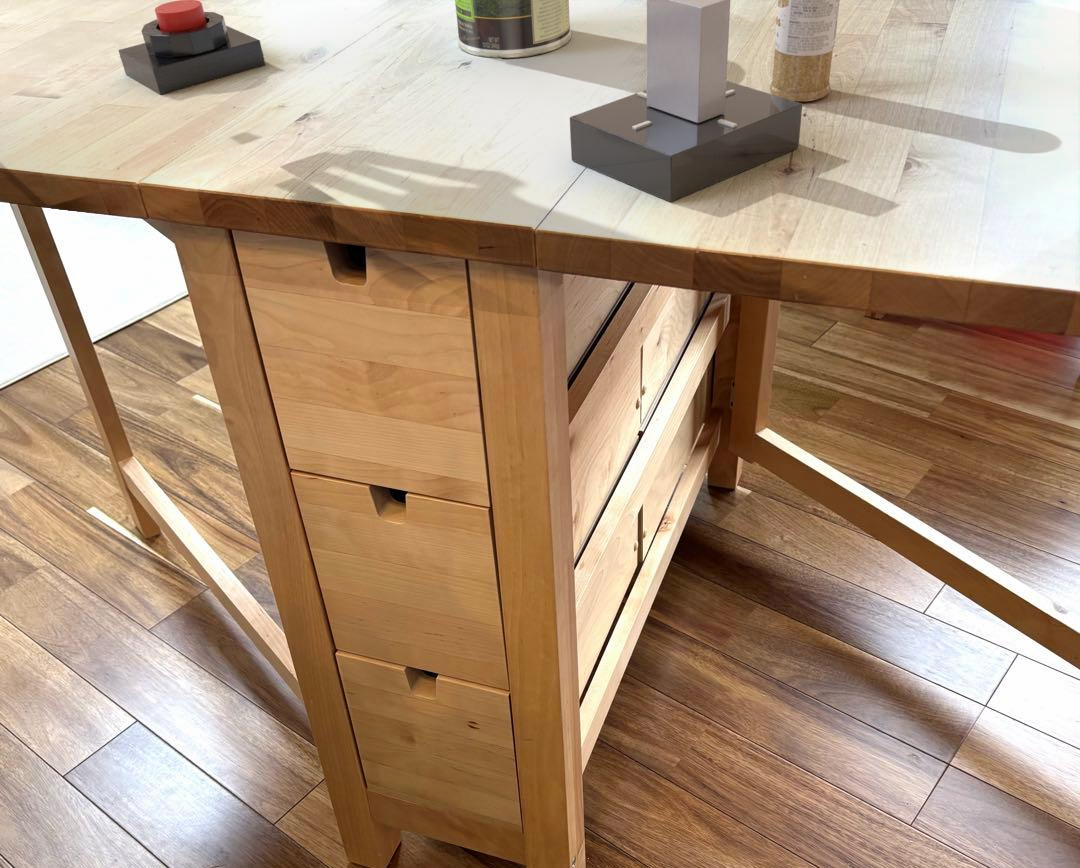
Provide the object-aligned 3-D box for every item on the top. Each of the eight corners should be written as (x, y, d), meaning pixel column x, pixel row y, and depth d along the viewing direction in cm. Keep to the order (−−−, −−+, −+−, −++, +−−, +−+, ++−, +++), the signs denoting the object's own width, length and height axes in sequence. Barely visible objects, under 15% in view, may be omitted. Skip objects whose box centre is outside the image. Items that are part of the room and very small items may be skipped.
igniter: (160, 96, 89) (146, 46, 87) (126, 75, 94) (111, 28, 92) (266, 66, 94) (254, 17, 91) (227, 48, 98) (215, 1, 96)
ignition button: (171, 37, 89) (165, 15, 88) (153, 29, 92) (147, 7, 91) (214, 26, 91) (209, 4, 90) (195, 18, 94) (190, -4, 92)
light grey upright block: (725, 113, 69) (731, -7, 65) (697, 123, 68) (701, 3, 63) (673, 96, 72) (675, -20, 68) (646, 105, 71) (646, -11, 67)
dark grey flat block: (670, 202, 67) (671, 153, 65) (571, 160, 73) (568, 114, 71) (798, 148, 72) (803, 101, 70) (695, 113, 78) (697, 68, 76)
